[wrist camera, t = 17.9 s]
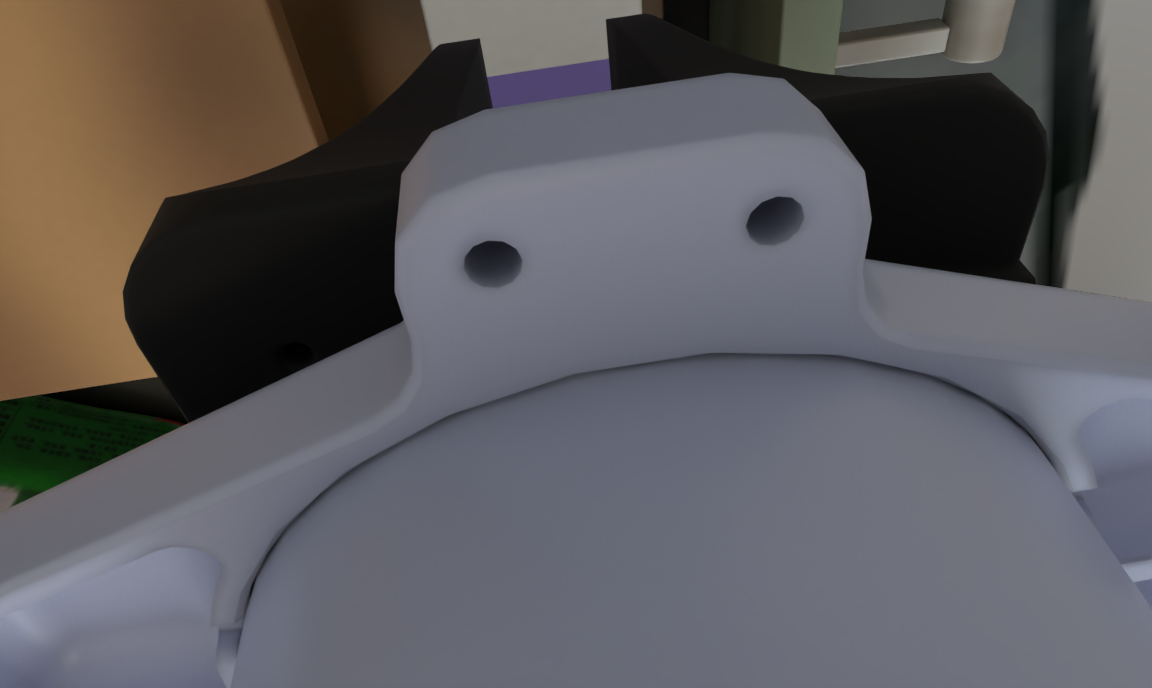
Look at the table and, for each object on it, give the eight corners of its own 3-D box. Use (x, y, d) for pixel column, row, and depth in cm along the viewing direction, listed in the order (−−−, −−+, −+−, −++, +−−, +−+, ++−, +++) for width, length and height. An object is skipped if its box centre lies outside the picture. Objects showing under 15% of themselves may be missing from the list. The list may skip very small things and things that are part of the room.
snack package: (-241, 306, 25) (-369, 432, 21) (278, 421, 31) (251, 537, 27) (-212, 447, 29) (-315, 574, 25) (241, 526, 35) (213, 639, 31)
